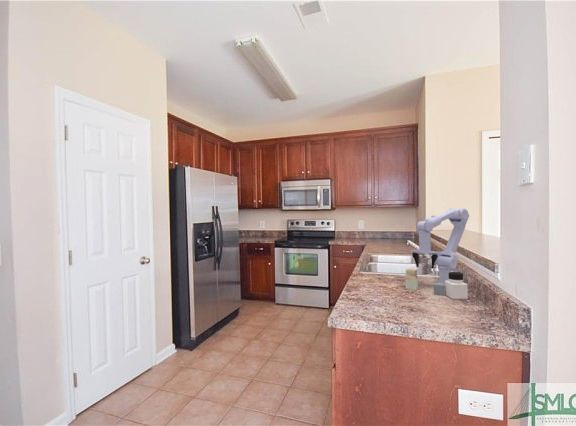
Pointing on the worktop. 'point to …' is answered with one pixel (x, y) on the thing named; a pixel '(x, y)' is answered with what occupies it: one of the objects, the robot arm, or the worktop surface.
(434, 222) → the robot arm
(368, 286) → the worktop surface
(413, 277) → the maple block
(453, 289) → the medicine bottle
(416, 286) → the sage block
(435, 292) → the slate block
